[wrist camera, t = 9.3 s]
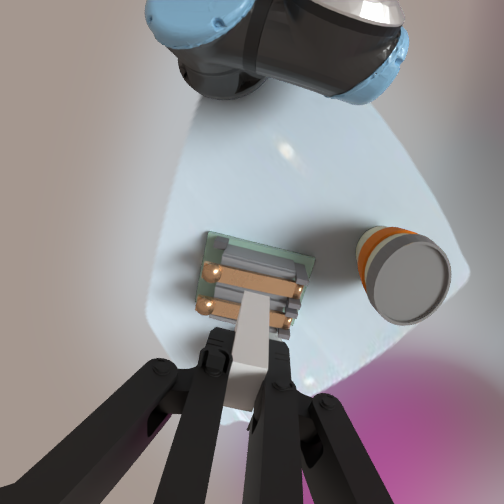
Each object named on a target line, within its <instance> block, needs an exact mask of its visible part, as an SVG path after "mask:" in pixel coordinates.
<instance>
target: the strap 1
mask: <svg viewBox="0 0 504 504" xmlns="http://www.w3.org/2000/svg"><path fill="white" fill-rule="evenodd" d="M201 278H203V279H204V280H205V281H206V282H209V283H216V282H220V283H225V284H229V285H234V286H238V287H243V288H247V289H252V290H257V291H261V292H266V293H271V294H275V295H280V296H285V297H290V298H294V299H300V297H301V294H302V291H303V288H304V285H300V284H296V281H294V280H289V279H285V278H280V277H276V276H271V275H267V274H262V273H257V272H253V271H248V270H244V269H240V268H235V267H231V266H226V265H222V264H218V263H213V262H209V261H205V262H204V266H203V270H202V276H201Z"/></svg>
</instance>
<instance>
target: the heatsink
mask: <svg viewBox="0 0 504 504" xmlns="http://www.w3.org/2000/svg"><path fill="white" fill-rule="evenodd" d="M205 261H209V262H213V263H218V264H222V265H226V266H231V267H235V268H240V269H244V270H248V271H253V272H257V273H262V274H267V275H271V276H276V277H280V278H285V279H289V280H294V281H296V284H300V285H304V288H303V291H302V294H301V297H300V299H294V298H290V297H285V296H280V295H275V294H271V293H266V292H261V291H257V290H252V289H247V288H243V287H238V286H234V285H229V284H225V283H220V282H216V283H209V282H206V281H205V280H204V279H203V278H201V276H202V270H203V266H204V262H205ZM314 262H315V258H314V257H311V256H307V255H303V254H299V253H295V252H291V251H288V250H284V249H280V248H276V247H272V246H268V245H264V244H260V243H256V242H252V241H248V240H244V239H240V238H236V237H232V236H228V235H224V234H220V233H216V232H212V231H209V233H208V237H207V242H206V246H205V251H204V256H203V262H202V267H201V272H200V277H199V282H198V288H197V293H196V299H195V302H197V297H198V294H200V295H205V296H209V297H213V298H218V299H222V300H227V301H231V302H236V303H242V299H243V295H244V291H248V292H253V293H257V294H261V295H265V296H269V297H270V310H275V311H280V312H285V317H290V318H293V320H292V322H291V326H293V324H294V321H295V319H297V316H298V310H300V307H301V301H302V298H303V295H304V292H305V289H306V287H307V286H308V284H309V278H310V275H311V272H312V269H313V265H314ZM209 318H213V319H217V320H220V321H224V322H228V323H232V324H236V322H237V320H236V319H231V318H227V317H222V316H218V315H213V314H210V315H209ZM277 331H278V338H282V339H287V340H289V338H290V329H289V330H284V329H282V328H277V327H271V326H269V332H271V333H275V334H276V333H277Z"/></svg>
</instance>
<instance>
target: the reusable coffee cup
mask: <svg viewBox="0 0 504 504" xmlns="http://www.w3.org/2000/svg"><path fill="white" fill-rule="evenodd" d="M356 260H357V263H358V272H359V275H360V278H361V281H362V284H363V287H364V289H365V291H366V293H367V296H368V299H369V301H370V303H371V304H372V306H373V307H374V308H375V310H376V311H377V312H378V313H379V314H380V315H381V316H382V317H383V318H384V319H385V320H387V321H388V322H390V323H393V324H395V325H401V326H403V325H412V324H416V323H418V322H421V321H423V320H425V319H426V318H428V317H429V316H430V315H432V314H433V313H434V312H435V311H436V310H437V309H438V308H439V306H440V305H441V304H442V302H443V301H444V299H445V297H446V295H447V293H448V290H449V287H450V283H451V266H450V263H449V260H448V258H447V256H446V254H445V253H444V252H443V250H442V249H441V248H440V247H439V246H437V245H436V244H435V243H434V242H433V241H432V240H430V239H429V238H427V237H425V236H423V235H420V234H417V233H415V232H412V231H409V230H405V229H401V228H398V227H384V226H378V227H374V228H371V229H370V230H368V231H367V232H365V233H364V234H363V235H362V237H361V238H360V240H359V241H358V244H357V247H356Z"/></svg>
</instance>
